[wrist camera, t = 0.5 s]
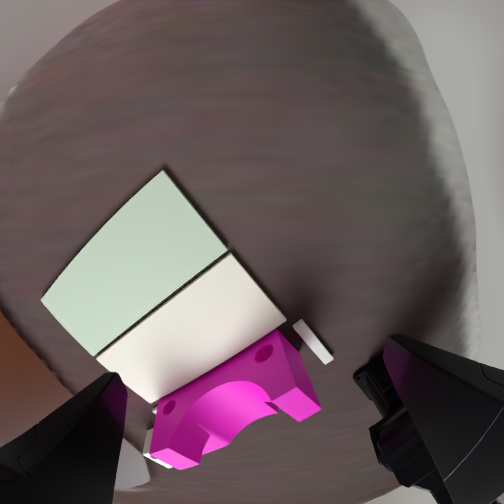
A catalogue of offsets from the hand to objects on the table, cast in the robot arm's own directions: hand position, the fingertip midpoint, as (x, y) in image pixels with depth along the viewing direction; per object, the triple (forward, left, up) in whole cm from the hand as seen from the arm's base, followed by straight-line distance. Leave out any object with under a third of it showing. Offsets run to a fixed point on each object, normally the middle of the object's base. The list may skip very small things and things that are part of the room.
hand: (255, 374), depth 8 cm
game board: (-4, +9, -13) cm, 16 cm away
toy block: (-11, +9, -14) cm, 20 cm away
